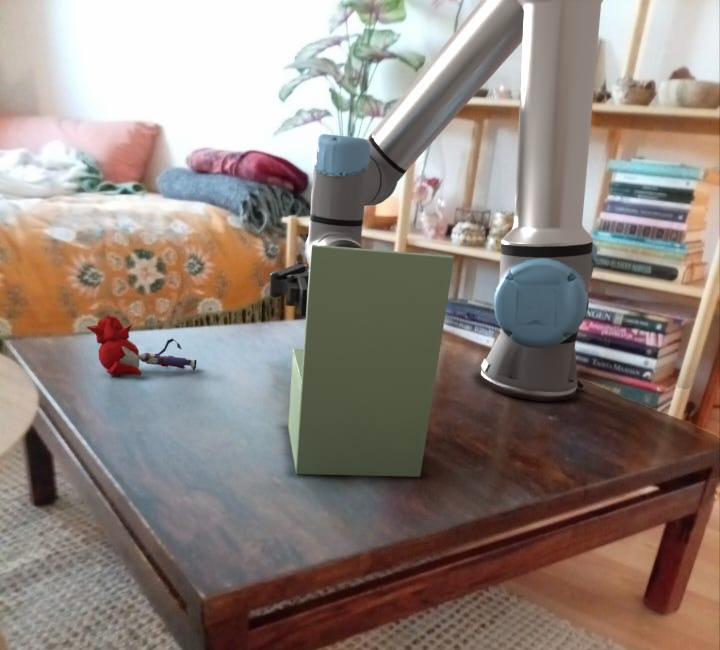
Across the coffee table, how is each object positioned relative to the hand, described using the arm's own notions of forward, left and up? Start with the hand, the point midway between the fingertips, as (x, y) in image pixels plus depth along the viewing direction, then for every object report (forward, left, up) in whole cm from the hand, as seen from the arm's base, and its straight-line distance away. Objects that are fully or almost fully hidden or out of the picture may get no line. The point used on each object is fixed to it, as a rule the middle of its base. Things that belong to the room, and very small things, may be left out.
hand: (369, 307), depth 74 cm
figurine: (+27, -31, -15) cm, 43 cm away
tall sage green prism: (0, -2, -17) cm, 18 cm away
